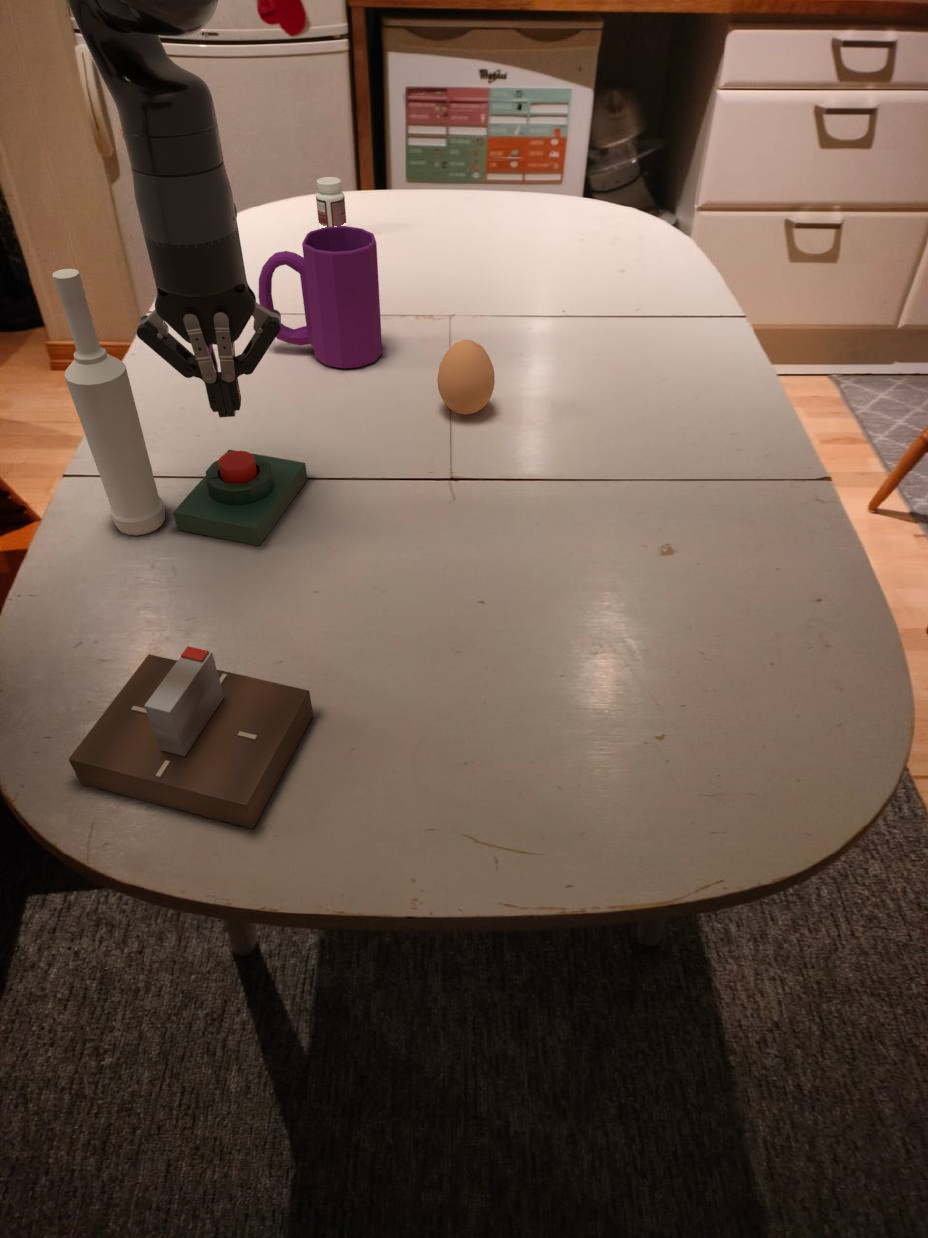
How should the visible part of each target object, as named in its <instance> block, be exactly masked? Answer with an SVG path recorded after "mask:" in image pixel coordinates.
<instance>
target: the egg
mask: <svg viewBox="0 0 928 1238" xmlns="http://www.w3.org/2000/svg"><path fill="white" fill-rule="evenodd" d="M436 381H437V390H438V393H439V395H440V397H441V400H442V401H443V403H444V404H445V406H447V408H449V410H452V411H453V412H455V413H457V414H460V415H472V414H474V413H477V412H478V411H480V410H482V409H483V408H484V407H485V406H486V405H487V404H488V402H489V401H490V399H491V398H492V396H493V393H494V389H495V369H494V365H493V363H492V360H491V358H490V355H489V354H488V353H487V351H486V350H485V348H484V347H483V346H482V345H481V344H479V343H477V342H475V341H474V340H470V339H463V340H459V341H457V342H455V343H454V344H452V345H451V346H450V347H449V348H448V349H447V351H446V352H445V354H444V355H443V356H442V359H441V362H440V363H439V366H438V371H437V380H436Z"/></svg>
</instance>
